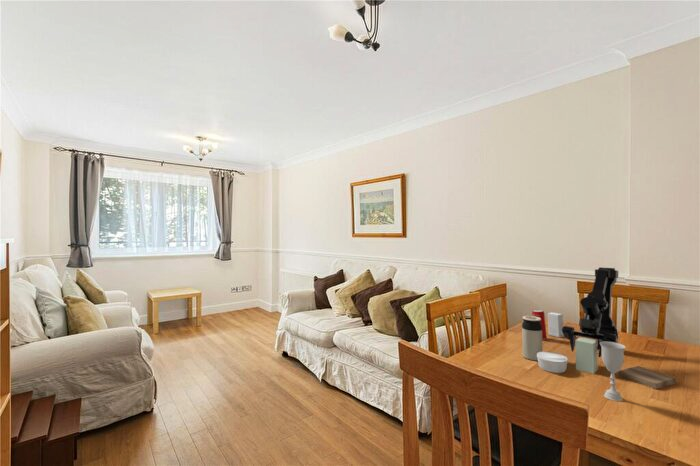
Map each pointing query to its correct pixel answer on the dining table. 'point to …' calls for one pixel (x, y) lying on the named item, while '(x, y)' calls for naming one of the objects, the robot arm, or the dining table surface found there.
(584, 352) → the sage block
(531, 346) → the travel mug
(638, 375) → the walnut board
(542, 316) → the beverage can
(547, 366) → the ramekin
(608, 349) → the chalice
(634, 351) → the dining table surface
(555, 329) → the skincare box
